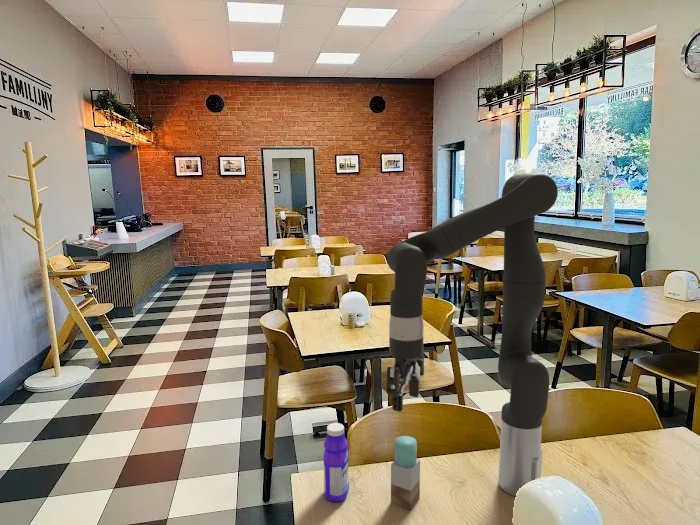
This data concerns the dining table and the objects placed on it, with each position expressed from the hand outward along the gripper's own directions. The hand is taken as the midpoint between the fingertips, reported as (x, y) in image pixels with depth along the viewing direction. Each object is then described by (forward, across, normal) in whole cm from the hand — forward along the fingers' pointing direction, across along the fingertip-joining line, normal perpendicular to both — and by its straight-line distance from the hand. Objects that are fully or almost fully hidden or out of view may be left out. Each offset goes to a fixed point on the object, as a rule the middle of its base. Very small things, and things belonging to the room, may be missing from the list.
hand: (406, 403), depth 109 cm
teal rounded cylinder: (+14, 0, 0) cm, 14 cm away
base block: (+24, 0, 0) cm, 24 cm away
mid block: (+19, 0, 0) cm, 19 cm away
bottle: (+24, -7, +15) cm, 29 cm away
